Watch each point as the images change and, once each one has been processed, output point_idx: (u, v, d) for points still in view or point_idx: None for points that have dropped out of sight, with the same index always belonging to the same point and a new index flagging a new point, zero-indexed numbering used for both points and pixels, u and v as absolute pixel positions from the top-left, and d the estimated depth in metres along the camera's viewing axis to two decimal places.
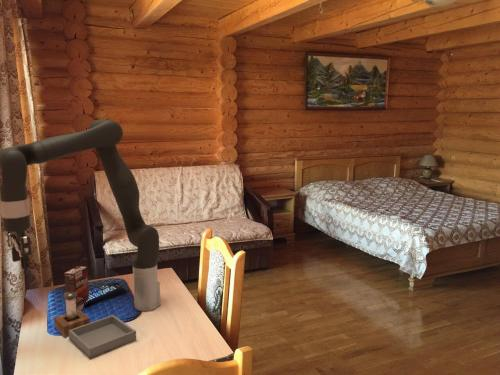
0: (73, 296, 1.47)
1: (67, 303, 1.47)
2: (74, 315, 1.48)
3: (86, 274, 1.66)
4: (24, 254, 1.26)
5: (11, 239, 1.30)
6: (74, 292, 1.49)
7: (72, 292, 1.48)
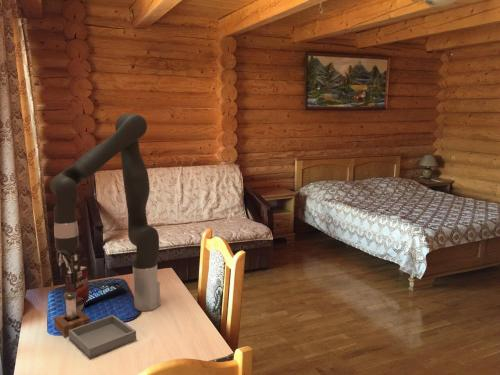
0: (73, 296, 1.47)
1: (67, 303, 1.47)
2: (74, 315, 1.48)
3: (86, 274, 1.66)
4: (74, 271, 1.41)
5: (61, 256, 1.45)
6: (74, 292, 1.49)
7: (72, 292, 1.48)
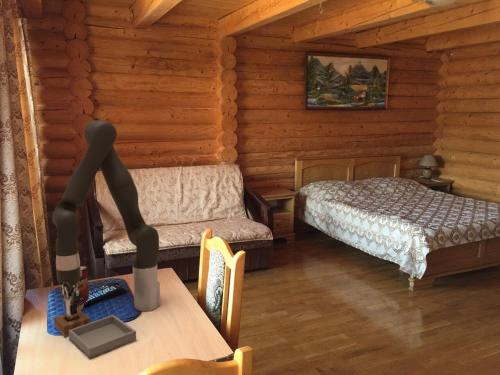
0: None
1: (67, 303, 1.47)
2: (74, 315, 1.48)
3: (86, 274, 1.66)
4: (74, 303, 1.44)
5: (64, 287, 1.47)
6: None
7: None
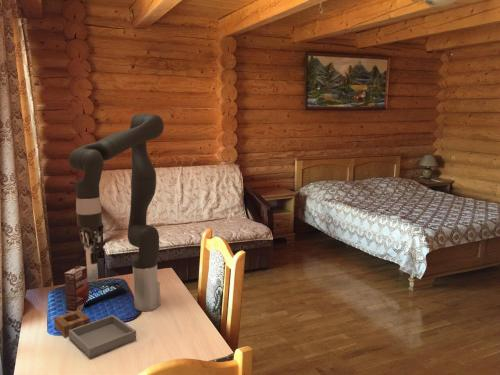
0: None
1: (87, 251, 1.37)
2: (95, 265, 1.38)
3: (86, 274, 1.66)
4: (95, 250, 1.34)
5: (84, 234, 1.37)
6: None
7: None
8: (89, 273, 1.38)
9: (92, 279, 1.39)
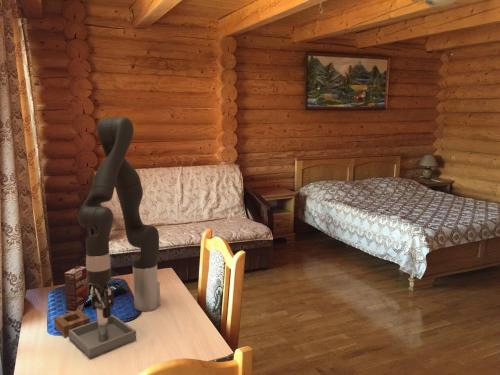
0: None
1: (98, 312, 1.38)
2: (106, 325, 1.40)
3: (86, 274, 1.66)
4: (108, 305, 1.34)
5: (93, 289, 1.39)
6: None
7: None
8: (101, 333, 1.40)
9: (103, 339, 1.40)
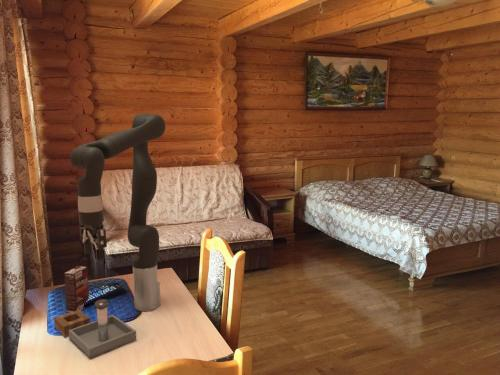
0: (105, 305, 1.38)
1: (98, 312, 1.38)
2: (106, 325, 1.40)
3: (86, 274, 1.66)
4: (101, 246, 1.33)
5: (86, 232, 1.38)
6: (106, 301, 1.40)
7: (103, 301, 1.40)
8: (101, 333, 1.40)
9: (103, 339, 1.40)
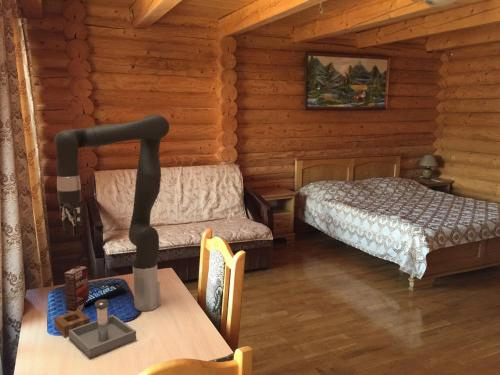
0: (105, 305, 1.38)
1: (98, 313, 1.38)
2: (106, 325, 1.40)
3: (86, 274, 1.66)
4: (77, 223, 1.44)
5: (64, 210, 1.49)
6: (106, 301, 1.40)
7: (103, 301, 1.40)
8: (101, 333, 1.40)
9: (103, 339, 1.40)
